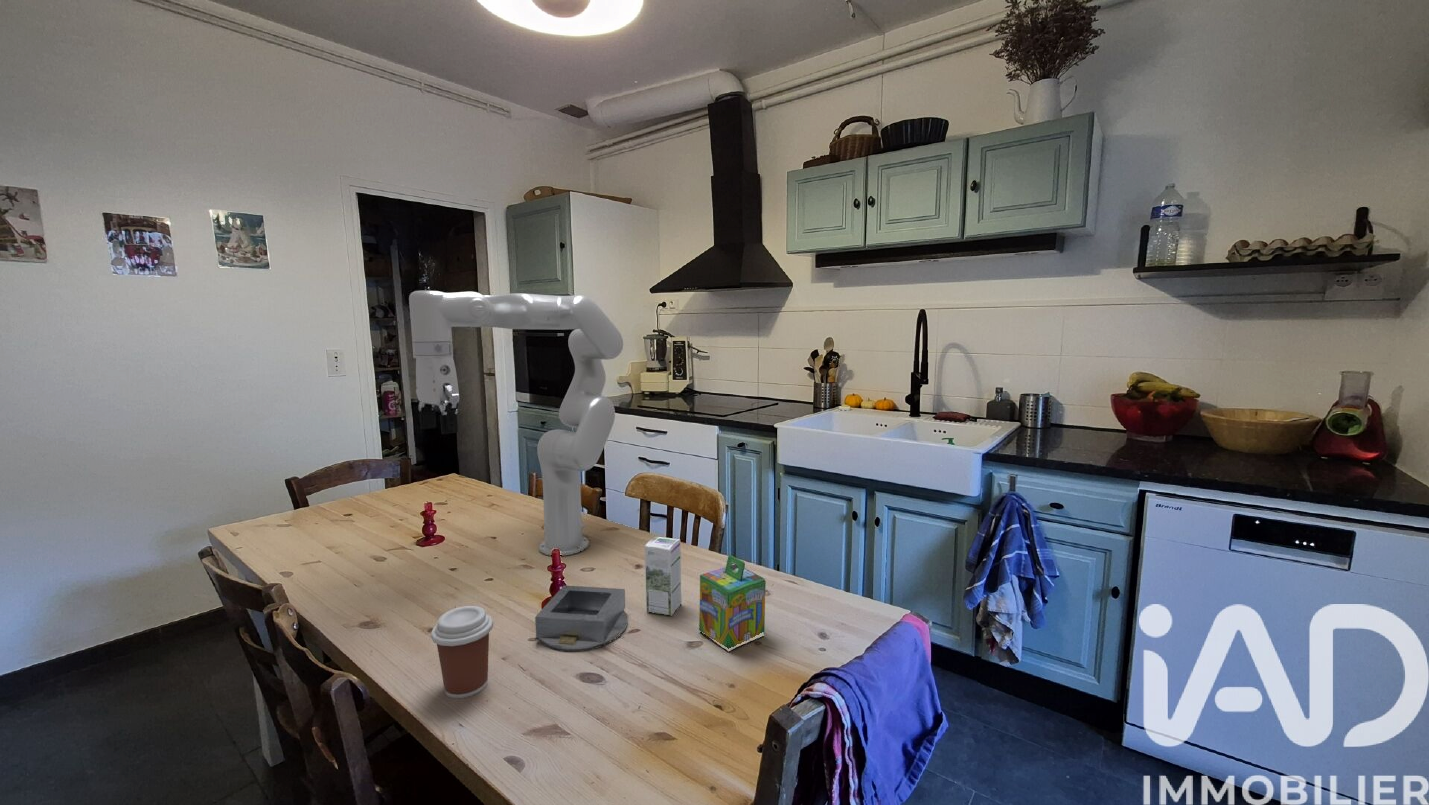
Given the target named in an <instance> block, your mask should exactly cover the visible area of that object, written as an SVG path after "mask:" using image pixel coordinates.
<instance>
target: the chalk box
mask: <svg viewBox="0 0 1429 805" xmlns="http://www.w3.org/2000/svg"><path fill="white" fill-rule="evenodd" d="M745 566H746V563H745V561H744V560H741V559H739V558H737V557H735V556H734V555H733V556H732V555H728V557H727V560H726V564H725V567H722V568H721V567H720V568H718V569H715V570H711V571H709V572H705V573H703V574H700V575H699V613H698V615H699V619H698V621H699V623H698V626H699V627H698V631H699V630H700V631H701V632H703V633H705V634H706V635H708V636H709V637H711V638H712V639H714V640H716V641H717V642H719V643H720V644H722V645H724V646H725V647H727V648H728V649H729V648H731V647H734V646H736V645H737V644H741V643H742V642H744V641H747V640H749V639H750V638H753V637H755V636H756V635H759V634H760V633H762V632H764V633H765V628H766V627H765V625H766V624H765V618H766V584H767V582H766V579H765V578H764V577H763V576H760V575H759V574H757V573H755V572H753V571H751V570H749V569H748V568H746V567H745ZM701 632H700V633H701Z"/></svg>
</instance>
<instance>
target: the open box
mask: <svg viewBox="0 0 1429 805" xmlns="http://www.w3.org/2000/svg"><path fill="white" fill-rule="evenodd" d="M625 609H626V590H625V588H615V587H614V588H613V587H596V586H583V585H582V586H581V585H563V586H561V588H560V589H559V590H558V592H556V594H554V595H553V597H552V598H551V599H550V600H549V601H548V602H547V604H545V605H544V607H543V608H542V609H541V610H540V611H539V612H538V613H537V614H536V616H535V617H534V619H535V620H534V621H535V624H534V625H535V637H536V638H537V639H538V640H539V642H540V641H541V642H542V643H541V642H540V643H541V644H543V645H544V646H545V647H547V648H549V647H550V648H549V649H553V650H555V651H560V650H563V651H562V652H582V651H581V650H585V651H589V650H593V649H592V648H594V649H597V648H596V647H598V648H600V647H599V646H601V647H604V646H605V645H604V644H606V645H608V644H610V643H611V642H610V641H612V642H614V641H615V640H614V639H615V638H617V637H618V636H619V635H621V634H622V632H623V631H624V630H625V629H627V627H628V615H627V613H626V611H625ZM626 626H627V627H626ZM625 631H626V630H625ZM625 631H624V632H625ZM622 635H623V634H622ZM622 635H621V636H622ZM618 638H619V637H618ZM618 638H617V639H618ZM613 640H614V641H613ZM609 642H610V643H609ZM607 643H608V644H607ZM603 645H604V646H603Z"/></svg>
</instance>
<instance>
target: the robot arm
mask: <svg viewBox="0 0 1429 805" xmlns="http://www.w3.org/2000/svg"><path fill="white" fill-rule="evenodd" d="M408 301H409V302H408V304H409V317H410V328H411V341H412V343H411V344H412V352H413V353H412V356H413V359H416V360H415V388H416V389H415V395H416V397H417V399H416V401H417V404H418V408H417V409H418V411H419V423H420V424H419V425H420V429H421V430H429V429H436V428H437V425H438V424H437V415H436V414H437V412H436V409H434V408H435V406H438V407H439V410H440V412H441V415H439V418H440V431H441V432H440V433H441V434H442V435H450V434H456V433H458V431H459V430H458V429H459V428H458V416H457V415H458V407H459V402H460V392H459V391H460V390H459V383H458V376H457V370H456V365H455V360H454V347H453V334H452V332H453V331H452V328H453V327H455V328H459V327H460V328H464V327H465V328H467V327H468V328H473V327H474V328H499V329H506V330H561V331H562V330H563V331H564V330H572V331H571V333H570V334H569V336H568V341H567V342H568V344H567V345H568V348H569V352H570V354H571V356H572V359H573V363H574V374H573V376H572V381H571V383H570V385H569V387H568V389H567V392H566V394H565V395H564V398H563V400H562V402H561V404H560V407H559V409H558V410H559V411H558V419H559V420H560V422H561V423H562V425H565V426H566V427H569V428H573V429H576V431H573V430H566V429H551V430H548V431H546V432H545V433H544V434H542V436H541V437H540V438H539V440H538V443H537V446H536V447H537V450H536V451H537V459H538V462H539V465H540V470H541V478H542V480H541V481H542V494H543V495H542V496H543V497H542V498H543V519H544V539H545V540H543V541H542V542H541V543H540V544H539V547H538V548H539V552H540V553H542V554H543V555H546V556H549V557H550V556H551V550H552V549H553V548H558V549H559V550H560V551H561V554H562V556H561V557H563V556H571V555H575V554H578V553H580V551H581V552H583V551H585V550H586V549H587V548H588V547H589V539H588V538H587V537H585V536H583V529H584V528H585V527H586V526H585V525H586V524H585V522H583V520H582V517H583V516H582V497H581V496H582V494H581V479H580V474H579V472H586V471H589V470H591V469H592V468H593V467H594V466H595V465H596V464H597V462H598V461H599V459H600V457H601V456H602V452H603V450H604V448H605V446H606V443H607V440H608V438H609V436H610V433H611V431H612V428H613V426H614V423H615V419H616V410H615V406H614V403H613V402H612V400H611V399H610V398H609V397H607V396H605V395H602V393H603V390H604V388H605V386H606V385H605V384H606V382H607V381H606V380H607V378H606V376H607V375H606V370H605V368H604V364H603V361H602V360H613V359H616V358H617V357H619V356H620V355H621V353H622V351H623V349H624V339H623V337H622V334H621V332H620V330H619V329H618V328H617V327H616V325H615V324H614V323H613V321H611V319H610V318H609V317H608V315H607V314H606V313H605V312H604V311H603V310H602V308H601V307H600V306H599V305H598V304H597V303H596V302H595V301H594V300H592V299H591V298H590V297H588V296H586V295H583V294H575V295H573V294H572V295H551V294H536V293H523V292H521V293H520V292H519V293H515V292H514V293H506V294H494V295H493V294H491V295H489V294H488V295H487V294H486V295H485V294H484V295H483V294H482V293H480V292H477V291H472V290H471V291H470V290H468V291H458V292H456V291H455V292H444V291H439V290H414V291H413V292H410V294H409V297H408ZM585 548H586V549H585ZM584 549H585V550H584ZM574 553H575V554H574Z"/></svg>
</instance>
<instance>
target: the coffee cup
mask: <svg viewBox="0 0 1429 805" xmlns="http://www.w3.org/2000/svg"><path fill="white" fill-rule="evenodd" d="M493 627H494V619H493V618H492V617H491V615H490V614H487V612H486V610H485V609H484V608H483V607H481V606H478V605H465V606H458V607H455V608H452V609H450V610H448V611H446V612H444V613H443V614H442V615H441V616H440V617H439V618H438V619H437V623H436V625H435V626H433V628H432V630H431V632H430V638H431V641H432V642H433V643H434V644H436V646H437V647H436V648H437V654H438V659H439V660H438V661H439V666H440V670H441V676H442V681H443V683H442V684H443V689H444V693H445V696H447V697H449V696H450V697H449V698H450V699H458V698H460V699H464V698H463V697H466V698H469V697H468V696H470V697H471V696H474V695H473V694H475V695H477V694H479V693H480V692H482V691H483V690H484V689H485V688H486V687H485V686H488V683H489V647H490V646H489V644H490V643H489V642H490V632H491V631H492V630H493ZM484 687H485V688H484ZM481 690H482V691H481ZM476 693H477V694H476Z"/></svg>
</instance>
